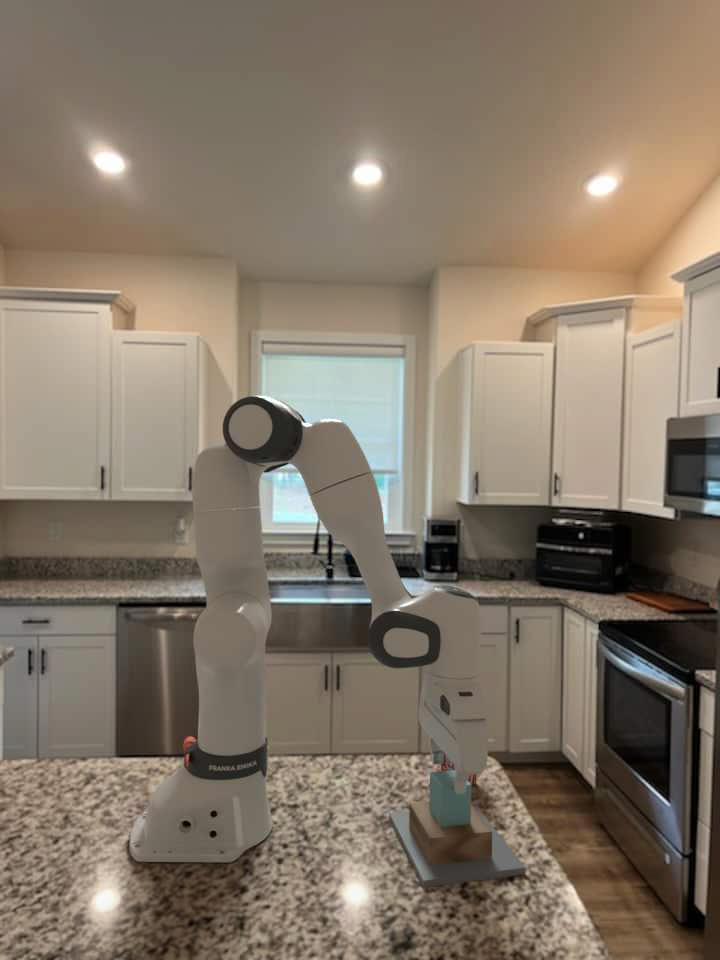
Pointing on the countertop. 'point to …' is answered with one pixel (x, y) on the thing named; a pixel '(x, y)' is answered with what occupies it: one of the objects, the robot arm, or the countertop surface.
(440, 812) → the teal block
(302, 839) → the countertop surface
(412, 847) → the slate board
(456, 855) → the walnut pedestal
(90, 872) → the countertop surface
